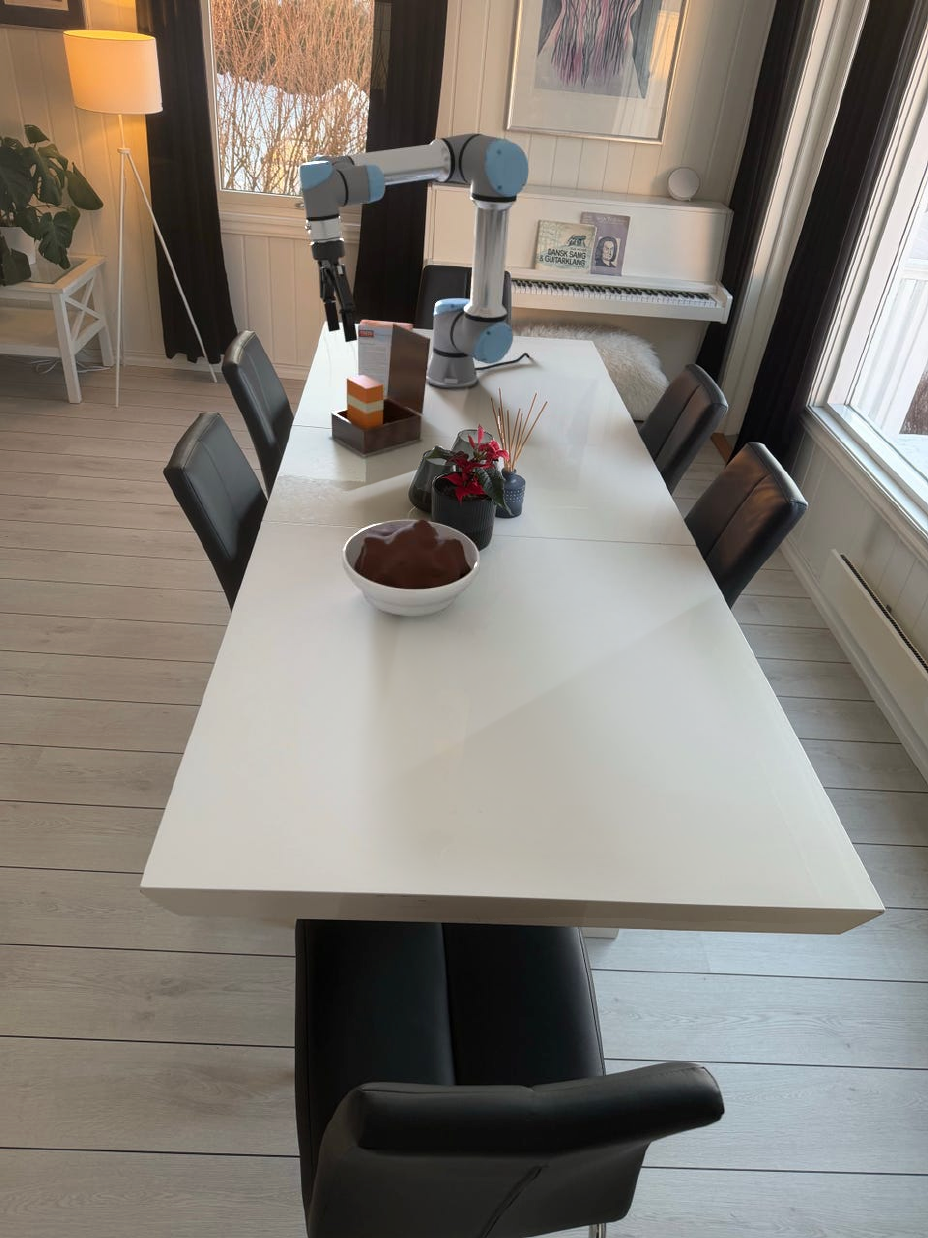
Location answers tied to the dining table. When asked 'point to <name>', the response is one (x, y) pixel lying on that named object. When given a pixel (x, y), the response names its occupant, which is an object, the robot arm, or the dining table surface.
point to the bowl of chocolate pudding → (410, 565)
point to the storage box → (378, 429)
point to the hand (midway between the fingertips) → (342, 335)
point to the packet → (364, 402)
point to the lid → (408, 368)
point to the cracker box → (376, 350)
